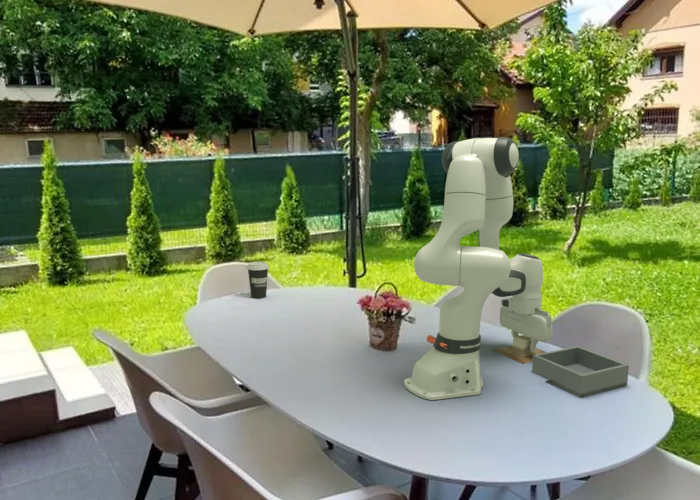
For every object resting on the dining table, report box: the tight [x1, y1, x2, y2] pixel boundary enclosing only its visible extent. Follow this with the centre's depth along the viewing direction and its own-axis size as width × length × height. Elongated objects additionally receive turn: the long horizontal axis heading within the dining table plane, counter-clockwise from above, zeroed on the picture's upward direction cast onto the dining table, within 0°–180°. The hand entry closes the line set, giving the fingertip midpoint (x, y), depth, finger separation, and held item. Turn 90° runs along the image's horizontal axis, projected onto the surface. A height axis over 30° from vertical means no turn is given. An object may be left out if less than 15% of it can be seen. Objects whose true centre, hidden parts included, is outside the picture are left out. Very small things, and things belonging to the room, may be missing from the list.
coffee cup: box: [246, 261, 270, 300], centre depth 263 cm, size 10×10×15 cm
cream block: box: [512, 334, 537, 357], centre depth 190 cm, size 5×5×5 cm
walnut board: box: [492, 345, 547, 365], centre depth 190 cm, size 14×14×1 cm
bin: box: [531, 345, 630, 399], centre depth 171 cm, size 18×18×6 cm
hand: (524, 347), depth 190 cm, fingers closed on cream block, 5 cm apart
